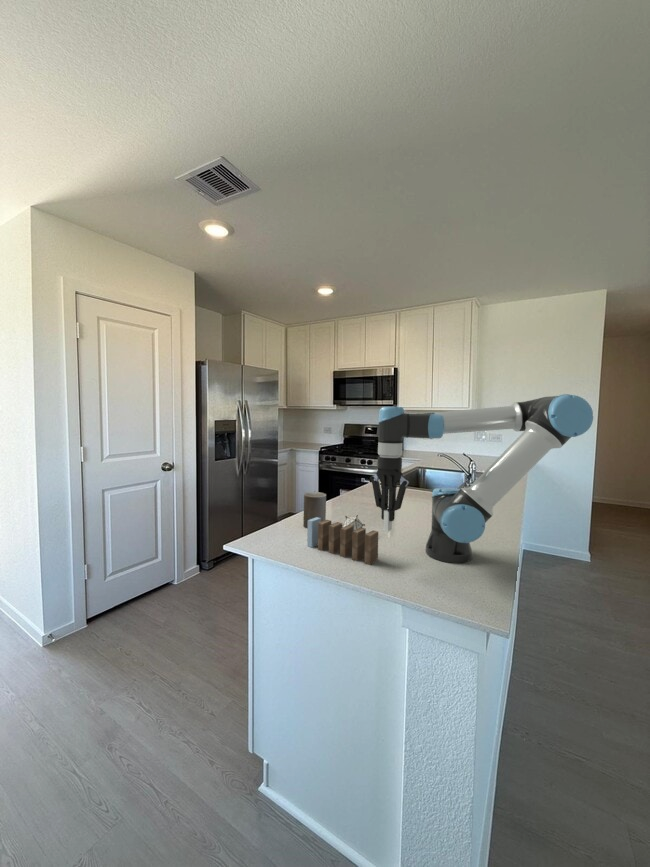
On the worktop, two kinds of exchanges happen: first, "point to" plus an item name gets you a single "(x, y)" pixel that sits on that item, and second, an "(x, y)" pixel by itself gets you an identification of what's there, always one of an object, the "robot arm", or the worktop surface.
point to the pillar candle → (314, 506)
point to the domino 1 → (313, 532)
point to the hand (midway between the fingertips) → (387, 530)
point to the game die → (353, 522)
